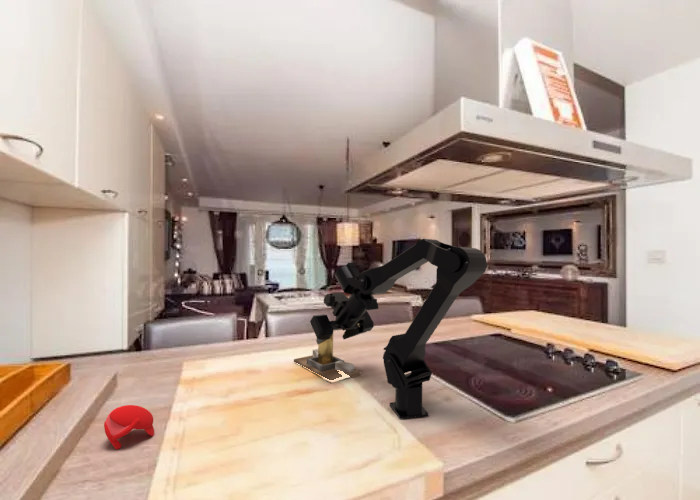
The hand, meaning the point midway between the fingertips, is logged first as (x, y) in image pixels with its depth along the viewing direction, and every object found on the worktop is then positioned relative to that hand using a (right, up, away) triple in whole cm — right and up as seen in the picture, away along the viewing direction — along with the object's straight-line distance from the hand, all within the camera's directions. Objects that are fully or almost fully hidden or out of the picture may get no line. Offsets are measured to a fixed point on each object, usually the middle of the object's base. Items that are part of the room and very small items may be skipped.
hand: (330, 340), depth 91 cm
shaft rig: (-2, -9, +2) cm, 9 cm away
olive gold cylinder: (-2, -8, +2) cm, 8 cm away
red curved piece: (-33, -7, -36) cm, 49 cm away
